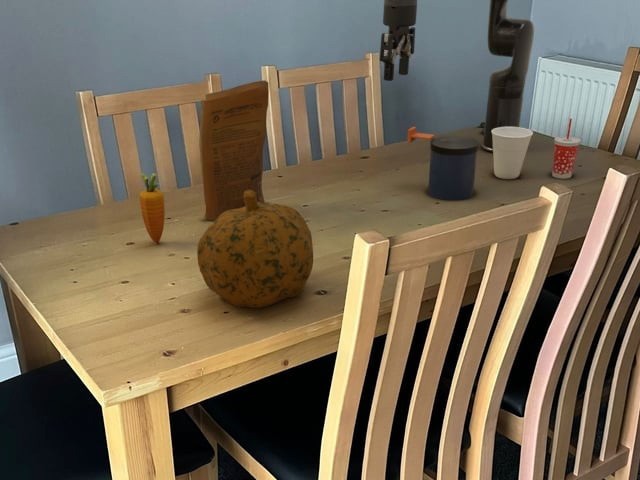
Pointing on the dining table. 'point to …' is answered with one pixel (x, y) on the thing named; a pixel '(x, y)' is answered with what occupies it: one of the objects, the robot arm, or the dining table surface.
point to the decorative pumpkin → (256, 253)
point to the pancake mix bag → (232, 146)
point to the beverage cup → (564, 155)
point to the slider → (417, 135)
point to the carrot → (152, 208)
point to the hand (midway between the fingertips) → (395, 77)
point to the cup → (509, 150)
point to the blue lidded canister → (452, 167)
